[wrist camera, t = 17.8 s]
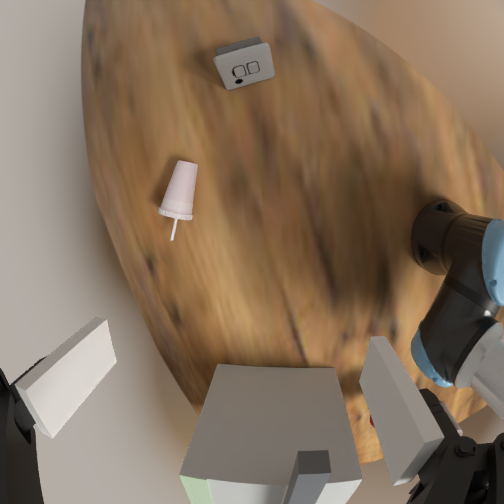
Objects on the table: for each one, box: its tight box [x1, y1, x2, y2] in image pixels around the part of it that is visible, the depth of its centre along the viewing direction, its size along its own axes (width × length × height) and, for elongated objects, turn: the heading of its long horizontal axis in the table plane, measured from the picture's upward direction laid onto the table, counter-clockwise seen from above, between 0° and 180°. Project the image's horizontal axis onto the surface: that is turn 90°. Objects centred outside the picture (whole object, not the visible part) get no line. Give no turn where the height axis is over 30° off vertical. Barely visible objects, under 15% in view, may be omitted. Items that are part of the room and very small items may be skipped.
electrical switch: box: [213, 37, 275, 90], centre depth 39 cm, size 9×5×9 cm, turn 107°
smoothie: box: [158, 160, 198, 241], centre depth 47 cm, size 6×6×14 cm
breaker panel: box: [179, 364, 362, 504], centre depth 43 cm, size 17×26×30 cm, turn 89°
